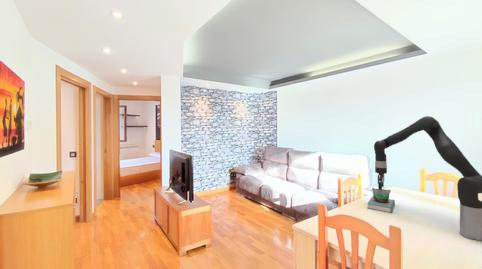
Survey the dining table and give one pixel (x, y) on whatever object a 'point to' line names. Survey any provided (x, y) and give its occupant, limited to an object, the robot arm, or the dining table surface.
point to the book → (381, 205)
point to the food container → (381, 195)
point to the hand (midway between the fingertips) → (381, 187)
